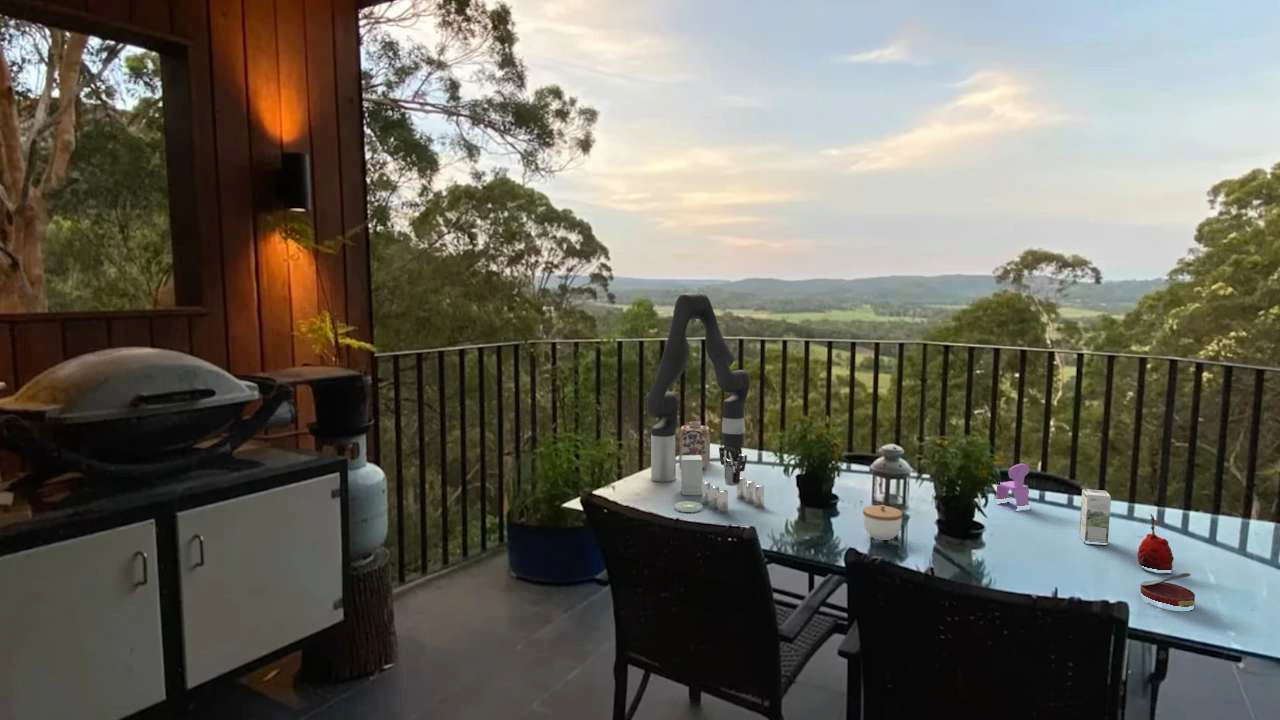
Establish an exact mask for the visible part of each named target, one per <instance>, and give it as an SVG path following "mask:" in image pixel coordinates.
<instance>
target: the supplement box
mask: <svg viewBox="0 0 1280 720" xmlns="http://www.w3.org/2000/svg"><path fill="white" fill-rule="evenodd" d="M702 482H703V469H702V457H701V455H684V456H681V468H680V492H681V495H682V496H701V483H702Z"/></svg>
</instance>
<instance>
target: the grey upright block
mask: <svg viewBox="0 0 1280 720" xmlns="http://www.w3.org/2000/svg"><path fill="white" fill-rule="evenodd" d="M736 468H737V465H736ZM724 479H725V481H724V482H725V485H726V486H732V487H735V486H736V487H737V485H739V483H736V484H735V483H733V466H732V465H731V464H729V465H726V470H725V469H724Z"/></svg>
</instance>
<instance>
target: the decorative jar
mask: <svg viewBox="0 0 1280 720" xmlns="http://www.w3.org/2000/svg"><path fill="white" fill-rule="evenodd" d="M710 433H711V429H710V427H709V426H707V425H703V424H702V425H701V421H689V422H688V424H685V425H682V426H681V427H680V432H679V435H678V437H679V451H678V452H679V458H678V460H679V468H680V469H681V456H684V455H701V457H702V468H704V469H703V470H707V468H708V469H709V466H710V459H711V456H710V455H711V439H710V438H711V434H710Z"/></svg>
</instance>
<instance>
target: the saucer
mask: <svg viewBox="0 0 1280 720" xmlns="http://www.w3.org/2000/svg"><path fill="white" fill-rule="evenodd" d="M675 509H676V510H675ZM674 510H675V511H676V512H679V511H681V512H680V513H684V512H691V513H690V514H692V513H693V512H694V513H699V512H702V510H703V504H702V503H700V502H696V501H679V502H677V503H675V504H674ZM698 511H699V512H698ZM694 513H693V514H694Z"/></svg>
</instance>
